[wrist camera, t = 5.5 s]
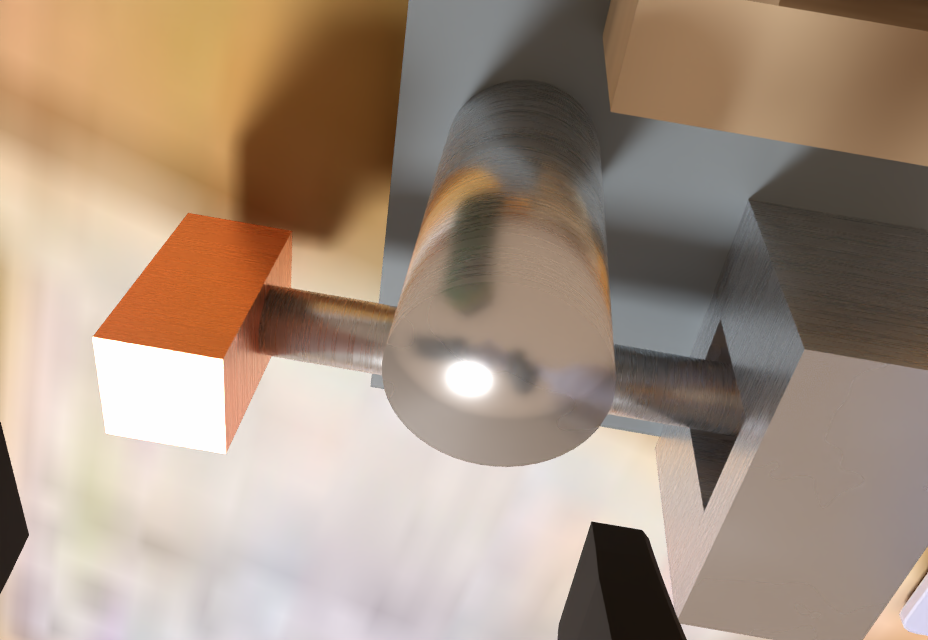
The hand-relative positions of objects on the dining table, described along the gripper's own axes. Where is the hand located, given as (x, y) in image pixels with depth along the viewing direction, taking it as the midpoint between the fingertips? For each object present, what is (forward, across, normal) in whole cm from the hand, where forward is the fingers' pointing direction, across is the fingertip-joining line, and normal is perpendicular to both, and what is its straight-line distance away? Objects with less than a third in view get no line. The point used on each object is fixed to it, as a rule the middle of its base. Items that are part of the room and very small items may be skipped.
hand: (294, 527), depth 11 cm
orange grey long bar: (+8, -2, +2) cm, 9 cm away
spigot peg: (+9, -2, -2) cm, 9 cm away
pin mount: (+9, -8, +2) cm, 12 cm away
